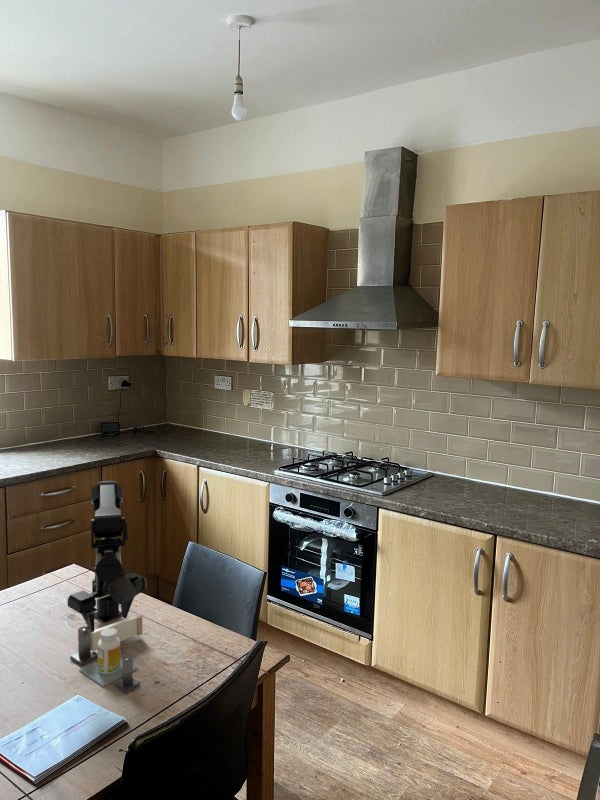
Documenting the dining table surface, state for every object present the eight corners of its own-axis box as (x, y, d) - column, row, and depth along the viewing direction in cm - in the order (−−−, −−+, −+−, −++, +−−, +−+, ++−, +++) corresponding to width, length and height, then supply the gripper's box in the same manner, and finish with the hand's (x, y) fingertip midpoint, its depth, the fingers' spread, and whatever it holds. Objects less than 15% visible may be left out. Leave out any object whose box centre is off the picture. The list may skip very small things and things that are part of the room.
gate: (93, 651, 155) (93, 633, 154) (90, 649, 156) (90, 630, 155) (142, 633, 164) (142, 616, 164) (139, 631, 166) (139, 614, 165)
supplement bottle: (122, 662, 152) (122, 626, 151) (116, 675, 147) (117, 637, 146) (101, 662, 152) (101, 626, 151) (94, 674, 147) (94, 637, 145)
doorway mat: (79, 671, 149) (79, 669, 149) (114, 654, 156) (114, 653, 156) (103, 687, 142) (103, 685, 142) (138, 669, 150) (138, 667, 150)
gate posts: (70, 659, 154) (69, 629, 153) (87, 651, 158) (87, 622, 157) (123, 694, 140) (123, 662, 139) (141, 684, 144) (141, 653, 143)
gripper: (93, 586, 134) (93, 651, 136) (160, 561, 148) (160, 621, 150) (65, 572, 140) (66, 635, 142) (132, 550, 155) (132, 607, 157)
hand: (108, 624), depth 148 cm, fingers open, 9 cm apart
